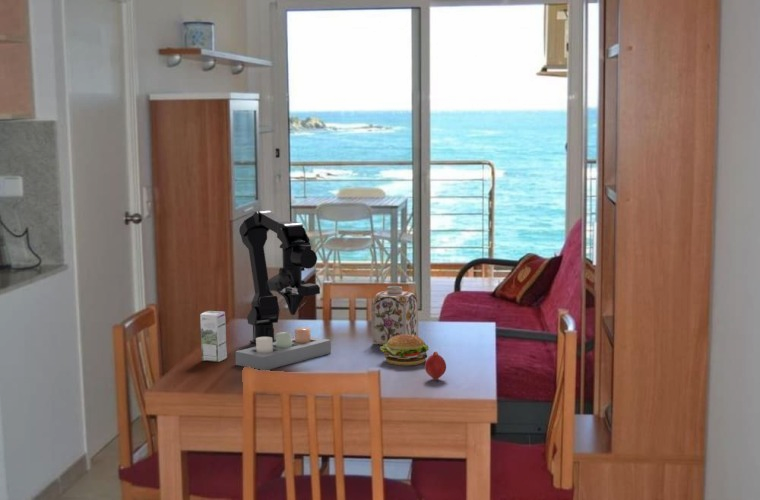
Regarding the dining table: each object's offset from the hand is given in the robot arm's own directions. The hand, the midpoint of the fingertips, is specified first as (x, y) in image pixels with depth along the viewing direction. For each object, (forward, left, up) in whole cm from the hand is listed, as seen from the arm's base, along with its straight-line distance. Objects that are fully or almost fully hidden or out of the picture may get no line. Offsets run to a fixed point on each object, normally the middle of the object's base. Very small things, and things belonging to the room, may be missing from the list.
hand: (292, 314), depth 313 cm
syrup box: (-13, -20, -12) cm, 27 cm away
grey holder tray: (+3, -7, -12) cm, 14 cm away
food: (+34, +12, -12) cm, 38 cm away
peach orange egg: (+3, +1, -11) cm, 11 cm away
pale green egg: (+3, -7, -11) cm, 13 cm away
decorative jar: (+15, +31, -12) cm, 37 cm away
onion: (+54, +1, -12) cm, 55 cm away
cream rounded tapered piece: (+3, -15, -11) cm, 18 cm away
